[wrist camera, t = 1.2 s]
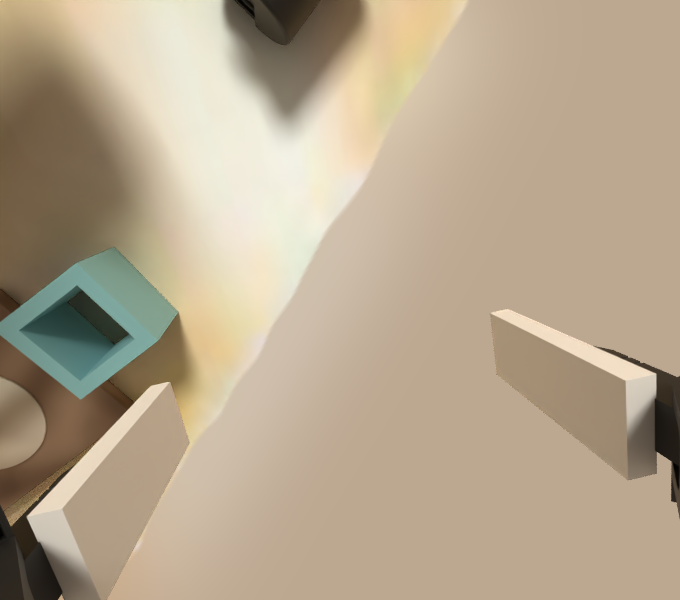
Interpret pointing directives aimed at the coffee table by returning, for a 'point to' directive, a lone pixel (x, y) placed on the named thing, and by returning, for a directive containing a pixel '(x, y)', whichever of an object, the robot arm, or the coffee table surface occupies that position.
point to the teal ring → (78, 333)
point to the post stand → (44, 419)
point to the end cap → (279, 16)
